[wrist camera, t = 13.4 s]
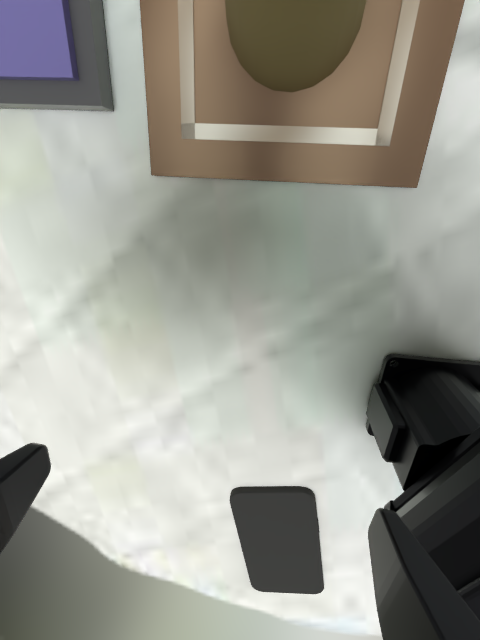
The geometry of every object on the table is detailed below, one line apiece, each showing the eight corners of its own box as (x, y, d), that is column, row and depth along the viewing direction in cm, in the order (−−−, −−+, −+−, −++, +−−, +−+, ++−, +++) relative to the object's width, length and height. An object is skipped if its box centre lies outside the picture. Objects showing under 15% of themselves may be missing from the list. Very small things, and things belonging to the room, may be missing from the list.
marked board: (527, -265, 10) (538, -285, 10) (413, 187, 16) (417, 187, 16) (128, -234, 12) (122, -250, 11) (154, 175, 17) (150, 175, 17)
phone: (252, 591, 32) (226, 492, 26) (252, 582, 33) (228, 484, 27) (325, 594, 31) (315, 491, 25) (324, 585, 32) (314, 482, 26)
